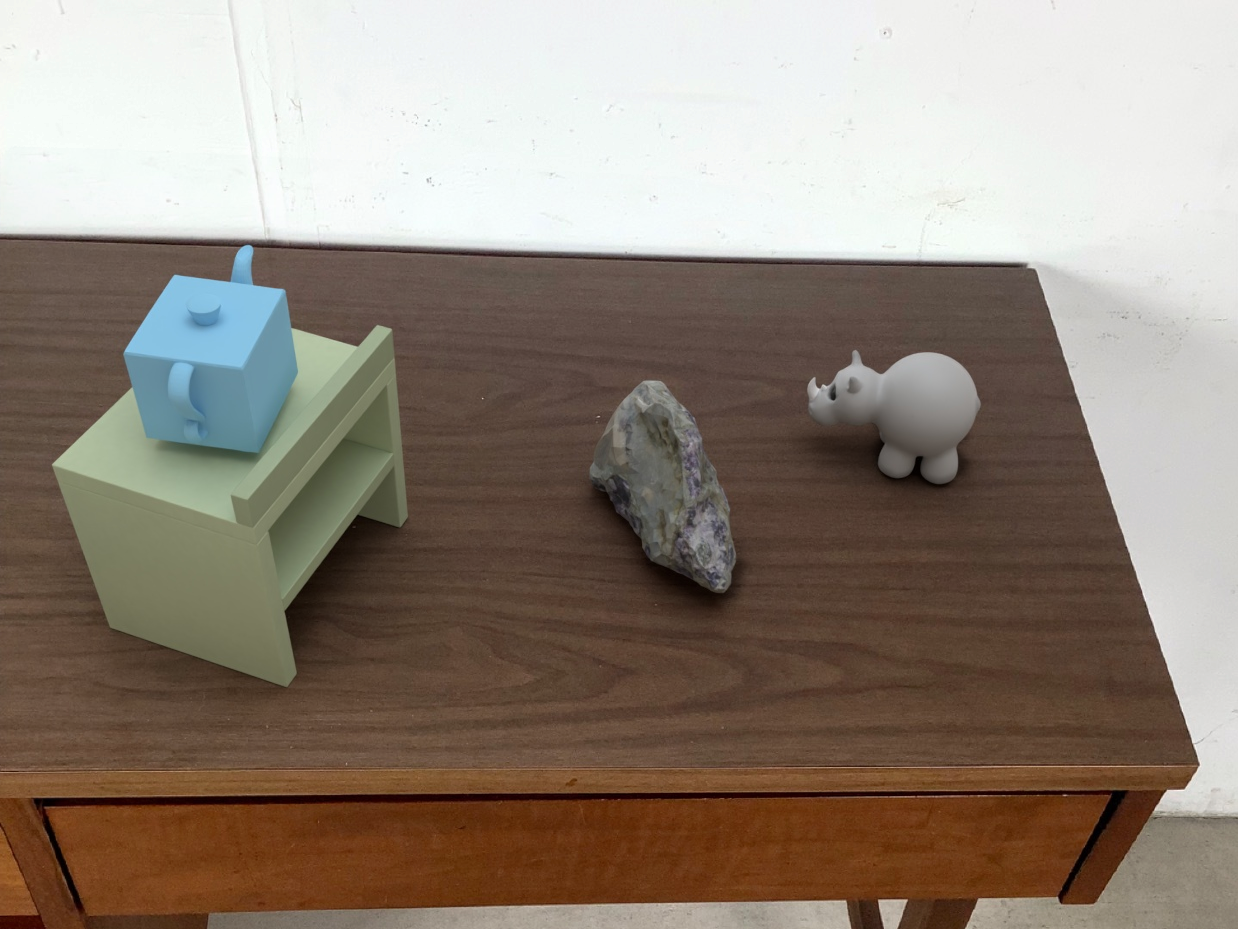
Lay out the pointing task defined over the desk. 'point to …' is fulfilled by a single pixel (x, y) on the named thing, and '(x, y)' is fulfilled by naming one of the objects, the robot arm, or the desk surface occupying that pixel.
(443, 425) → the desk surface
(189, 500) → the shelf
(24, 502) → the desk surface
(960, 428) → the toy rhinoceros
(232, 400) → the teapot
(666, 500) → the mineral rock
